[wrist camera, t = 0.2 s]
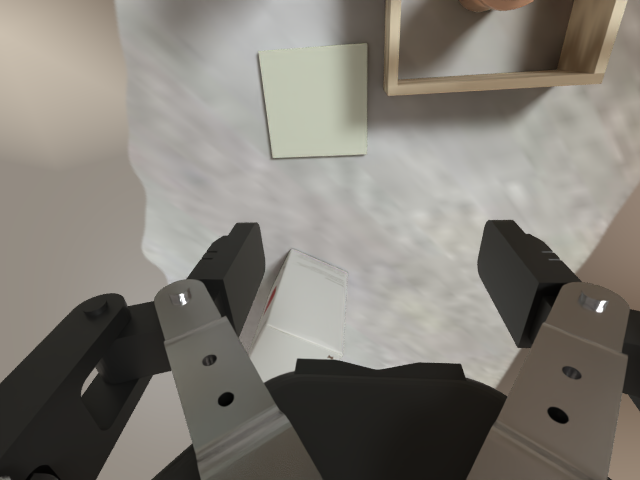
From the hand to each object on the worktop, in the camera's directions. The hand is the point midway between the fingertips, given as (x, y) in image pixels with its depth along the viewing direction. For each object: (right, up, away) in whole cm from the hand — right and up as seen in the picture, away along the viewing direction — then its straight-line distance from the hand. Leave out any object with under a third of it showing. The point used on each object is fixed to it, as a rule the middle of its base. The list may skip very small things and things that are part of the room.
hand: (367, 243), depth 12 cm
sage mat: (-2, +15, +25) cm, 29 cm away
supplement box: (-3, -6, +37) cm, 38 cm away
